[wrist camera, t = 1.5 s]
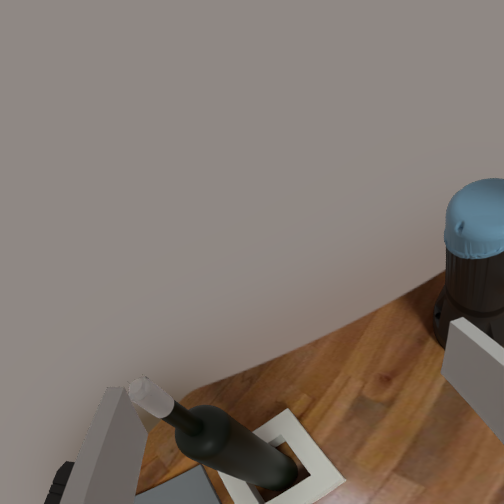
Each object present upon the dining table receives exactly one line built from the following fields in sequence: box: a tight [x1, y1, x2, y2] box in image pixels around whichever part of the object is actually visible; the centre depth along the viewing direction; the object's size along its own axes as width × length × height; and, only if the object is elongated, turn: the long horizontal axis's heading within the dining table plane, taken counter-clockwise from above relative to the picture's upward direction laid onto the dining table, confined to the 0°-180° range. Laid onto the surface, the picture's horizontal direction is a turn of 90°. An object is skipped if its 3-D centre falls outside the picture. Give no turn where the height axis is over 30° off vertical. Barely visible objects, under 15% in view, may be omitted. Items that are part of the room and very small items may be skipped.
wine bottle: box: [129, 375, 298, 491], centre depth 28 cm, size 6×6×30 cm
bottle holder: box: [218, 408, 347, 504], centre depth 36 cm, size 14×14×3 cm
